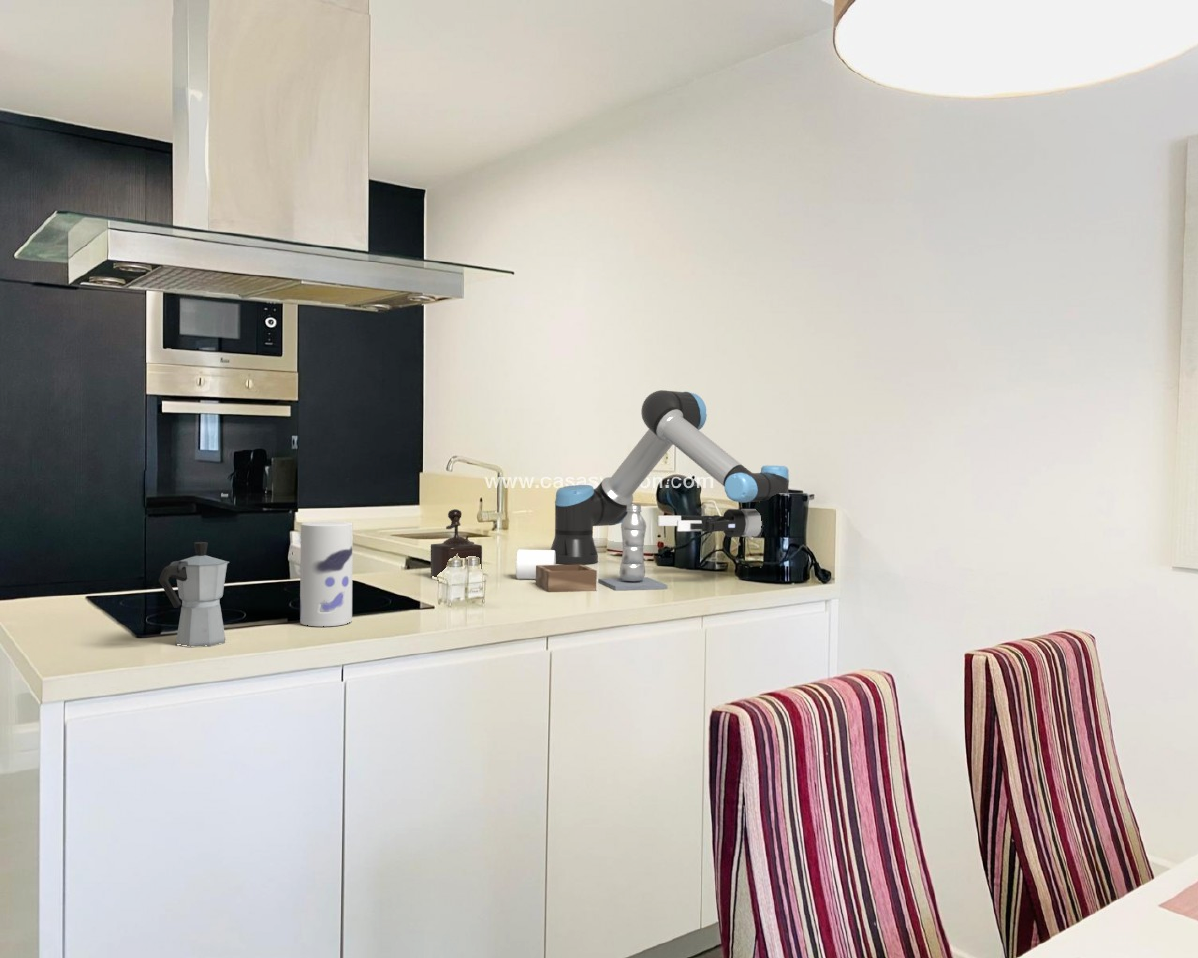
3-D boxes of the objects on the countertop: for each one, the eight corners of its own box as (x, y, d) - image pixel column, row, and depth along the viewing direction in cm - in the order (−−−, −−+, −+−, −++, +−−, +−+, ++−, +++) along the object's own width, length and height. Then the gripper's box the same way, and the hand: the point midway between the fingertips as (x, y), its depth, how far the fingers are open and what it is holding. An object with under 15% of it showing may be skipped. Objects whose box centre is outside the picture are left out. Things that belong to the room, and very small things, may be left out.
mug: (553, 582, 256) (553, 551, 256) (515, 581, 256) (516, 551, 256) (556, 575, 268) (556, 546, 268) (520, 574, 268) (520, 546, 268)
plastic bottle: (615, 580, 253) (616, 504, 252) (638, 579, 256) (640, 503, 255) (625, 583, 247) (627, 505, 246) (649, 582, 250) (651, 505, 249)
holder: (535, 584, 250) (536, 565, 250) (581, 583, 254) (582, 564, 253) (548, 592, 238) (548, 571, 238) (596, 590, 242) (596, 570, 242)
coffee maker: (211, 633, 181) (211, 537, 180) (246, 638, 177) (246, 540, 177) (142, 648, 168) (142, 544, 167) (178, 654, 164) (178, 548, 163)
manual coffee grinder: (485, 580, 256) (486, 512, 255) (447, 583, 249) (448, 513, 249) (457, 573, 268) (458, 508, 268) (420, 575, 262) (421, 509, 261)
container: (324, 629, 187) (325, 526, 186) (289, 623, 192) (289, 522, 192) (362, 621, 196) (363, 522, 195) (327, 616, 201) (328, 519, 200)
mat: (598, 582, 256) (598, 578, 256) (647, 580, 260) (647, 577, 260) (615, 590, 243) (615, 586, 243) (667, 588, 247) (667, 584, 247)
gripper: (761, 542, 249) (685, 543, 243) (720, 531, 273) (650, 532, 267) (763, 513, 249) (686, 513, 243) (721, 505, 273) (651, 505, 266)
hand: (667, 523), depth 255 cm, fingers open, 13 cm apart
